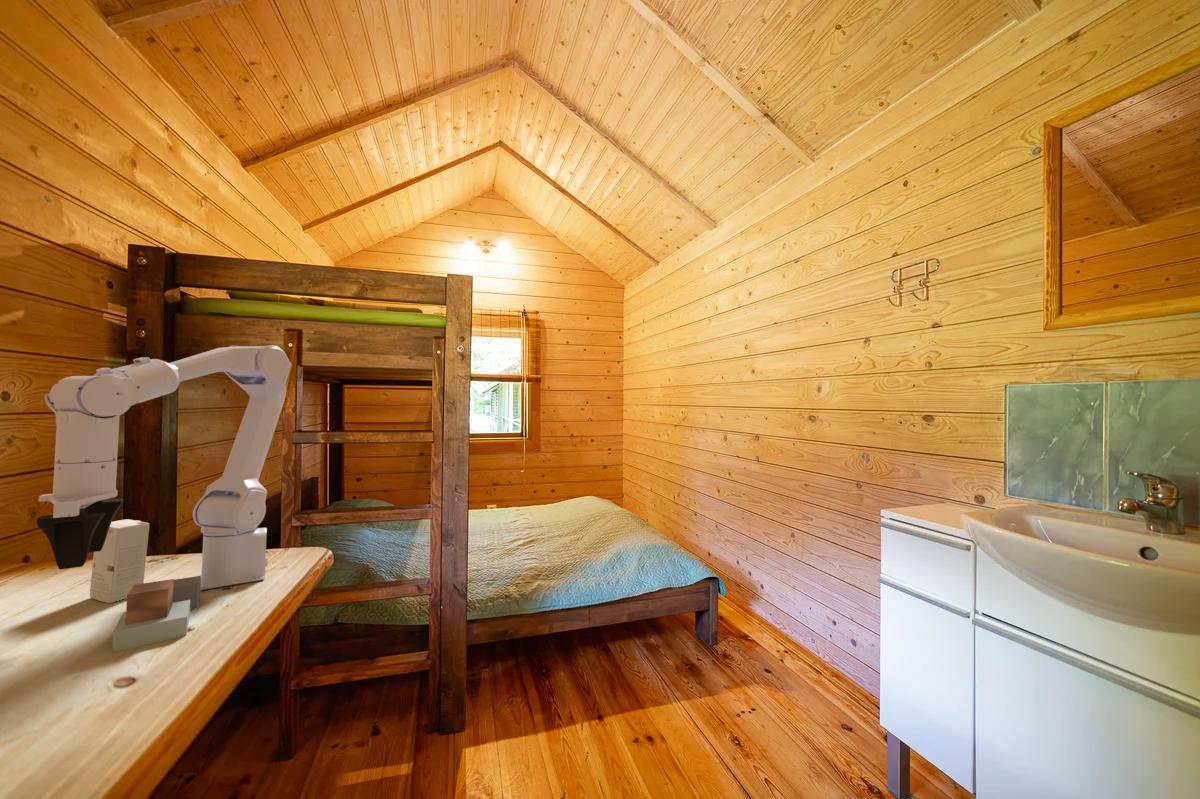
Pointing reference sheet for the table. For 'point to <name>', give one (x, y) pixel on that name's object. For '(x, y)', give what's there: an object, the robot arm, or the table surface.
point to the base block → (152, 628)
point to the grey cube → (187, 590)
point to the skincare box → (120, 561)
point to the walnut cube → (149, 601)
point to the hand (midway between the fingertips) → (81, 559)
